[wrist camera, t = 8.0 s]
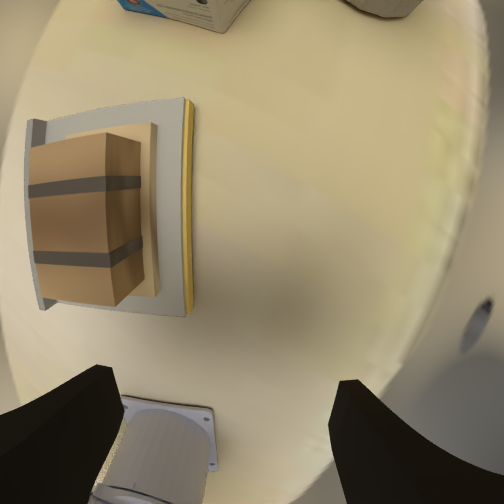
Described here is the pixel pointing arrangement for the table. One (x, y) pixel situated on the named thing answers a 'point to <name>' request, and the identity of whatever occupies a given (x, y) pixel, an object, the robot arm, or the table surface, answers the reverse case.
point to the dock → (167, 195)
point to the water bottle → (387, 7)
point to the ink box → (191, 11)
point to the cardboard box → (96, 215)
